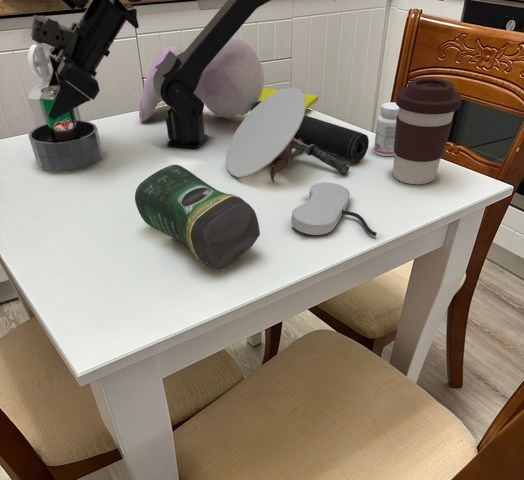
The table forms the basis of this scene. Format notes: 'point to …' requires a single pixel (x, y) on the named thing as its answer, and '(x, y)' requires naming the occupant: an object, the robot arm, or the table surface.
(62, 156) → the grey ribbed bowl
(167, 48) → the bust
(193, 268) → the table surface
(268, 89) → the sign
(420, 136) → the coffee cup
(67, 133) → the soda can
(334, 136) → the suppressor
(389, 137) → the pill bottle
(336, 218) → the game controller
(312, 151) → the knife
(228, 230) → the coffee jar
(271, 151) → the round grey base figurine
